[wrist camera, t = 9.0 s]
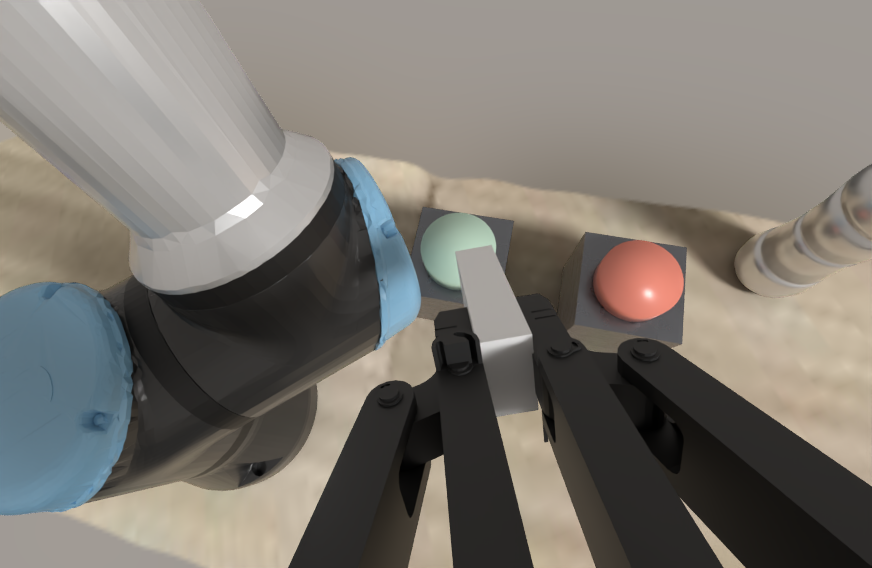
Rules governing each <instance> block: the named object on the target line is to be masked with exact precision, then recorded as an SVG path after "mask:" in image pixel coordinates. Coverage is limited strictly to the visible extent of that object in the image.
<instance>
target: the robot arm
mask: <svg viewBox="0 0 872 568" xmlns="http://www.w3.org/2000/svg"><path fill="white" fill-rule="evenodd" d="M0 122H2V123H3V124H4V125H5V126H7V127H8V128H9V129H10V130H11V131H12V132H14V133H15V134H16V135H17V136H18V137H19V138H21V139H22V140H23V141H24V142H25V143H27V144H28V145H29V146H30V147H31V148H33V149H34V150H35V151H36V152H37V153H39V154H40V155H41V156H42V157H43V158H45V159H46V160H47V161H48V162H49V163H50V164H52V165H53V166H54V167H55V168H56V169H58V170H59V171H60V172H61V173H62V174H64V175H65V176H66V177H67V178H68V179H70V180H71V181H72V182H73V183H74V184H75V185H77V186H78V187H79V188H80V189H81V190H83V191H84V192H85V193H86V194H87V195H89V196H90V197H91V198H92V199H93V200H95V201H96V202H97V203H98V204H99V205H100V206H102V207H103V208H104V209H105V210H106V211H108V212H109V213H110V214H111V215H112V216H114V217H115V218H116V219H117V220H118V221H120V222H121V223H122V224H123V225H124V226H125V227H127V228H128V229H129V231H130V247H129V267H130V269H131V272H132V273H133V275H132V276H130V277H128V278H127V279H125V280H123V281H121V282H119V283H117V284H116V285H114V286H112V287H110V288H108V289H106V290H102V291H97V290H94V289H92V288H90V287H88V286H86V285H83V284H80V283H76V282H75V283H56V282H40V283H34V284H30V285H26V286H23V287H19V288H17V289H15V290H12V291H10V292H8V293H6V294H4V295H3V296H1V297H0V515H21V514H29V513H37V512H47V511H48V512H63V511H67V510H69V509H71V508H75V507H78V506H81V505H82V504H84V503H88V502H92V501H97V500H101V499H105V498H110V497H114V496H118V495H122V494H127V493H131V492H135V491H140V490H144V489H148V488H153V487H157V486H161V485H165V484H170V483H174V482H178V481H183V482H186V483H189V484H192V485H194V486H197V487H200V488H204V489H208V490H218V491H226V490H235V489H240V488H244V487H247V486H250V485H253V484H257V483H259V482H262V481H264V480H266V479H268V478H270V477H272V476H274V475H275V474H276V473H278V472H279V471H281V470H282V469H283V468H284V467H286V466H287V465H288V464H289V463H290V462H291V461H292V460H293V459H294V457H295V456H296V455H297V454H298V452H299V451H300V450H301V448H302V447H303V445H304V443H305V442H306V440H307V438H308V436H309V434H310V431H311V429H312V426H313V423H314V419H315V415H316V409H317V386H316V383H318V382H320V381H322V380H323V379H325V378H327V377H329V376H330V375H332V374H334V373H335V372H337V371H339V370H341V369H342V368H344V367H346V366H348V365H349V364H351V363H353V362H354V361H356V360H358V359H360V358H361V357H363V356H365V355H366V354H368V353H370V352H372V351H373V350H377V349H379V348H381V347H382V346H383V344H384V343H385V341H386V340H388V339H389V338H391V337H392V336H394V335H395V334H397V333H398V332H399V331H401V330H402V329H404V328H405V327H407V326H408V325H410V324H411V323H412V322H413V321H414V320H415V318H416V317H417V315H418V313H419V310H420V306H421V293H420V287H419V282H418V279H417V275H416V272H415V269H414V266H413V263H412V260H411V257H410V255H409V252H408V249H407V247H406V245H405V242H404V240H403V238H402V235H401V234H400V232H399V231H398V229H397V228H396V227H395V222H394V219H393V217H392V214H391V212H390V209H389V207H388V205H387V203H386V201H385V199H384V197H383V195H382V193H381V191H380V189H379V188H378V186H377V184H376V182H375V181H374V179H373V178H372V176H371V174H370V173H369V172H368V170H367V169H366V168H365V167H364V165H363V164H362V163H361V162H360V161H359V160H357V159H355V158H352V157H349V158H345V159H341V158H340V159H339V160H337V159H335V160H333V158H332V156H331V154H330V153H329V151H328V149H327V148H326V147H325V145H324V144H323V143H322V142H320V141H319V140H318V139H316V138H314V137H312V136H308V135H305V134H301V133H297V132H293V131H289V130H285V129H282V128H281V127H280V126H279V124H278V123H277V121H276V120H275V118H274V116H273V115H272V113H271V112H270V110H269V109H268V107H267V106H266V104H265V102H264V101H263V99H262V98H261V96H260V94H259V93H258V91H257V90H256V88H255V87H254V85H253V84H252V82H251V80H250V79H249V77H248V76H247V74H246V72H245V71H244V69H243V68H242V66H241V64H240V63H239V61H238V60H237V58H236V57H235V55H234V54H233V52H232V50H231V49H230V47H229V46H228V44H227V42H226V41H225V40H224V38H223V36H222V35H221V33H220V31H219V30H218V28H217V27H216V25H215V24H214V22H213V20H212V19H211V17H210V16H209V14H208V13H207V11H206V10H205V8H204V6H203V5H202V3H201V2H200V0H0ZM455 254H456V260H457V266H458V272H459V279H460V285H461V291H462V297H463V303H464V308H458V309H453V310H447V311H441V312H439V313H438V315H437V316H436V318H435V320H434V325H435V336H436V339H435V340H434V341H433V343H432V347H431V348H432V352H433V357H434V362H435V366H436V372H435V374H434V375H433V376H432V377H431V378H430V379H428V380H427V381H426V382H424V383H422V384H420V385H417V386H415V387H413V388H412V387H411V385H410V384H408V383H406V382H404V381H397V380H395V381H388V382H385V383H383V384H380V385H378V386H377V387H375V388H374V389H373V390H371V392H370V393H369V394H368V396H367V397H366V400H365V402H364V404H363V406H362V408H361V410H360V413H359V415H358V417H357V419H356V421H355V424H354V426H353V428H352V430H351V432H350V434H349V437H348V439H347V441H346V443H345V445H344V448H343V450H342V452H341V454H340V456H339V458H338V461H337V463H336V465H335V467H334V469H333V471H332V474H331V476H330V478H329V480H328V482H327V485H326V487H325V489H324V491H323V493H322V495H321V498H320V500H319V502H318V504H317V506H316V508H315V511H314V513H313V515H312V517H311V519H310V522H309V524H308V526H307V528H306V530H305V532H304V535H303V537H302V539H301V541H300V543H299V546H298V548H297V550H296V552H295V554H294V556H293V559H292V561H291V563H290V565H289V567H288V568H408V564H409V560H410V555H411V551H412V547H413V542H414V538H415V533H416V529H417V525H418V520H419V516H420V512H421V507H422V503H423V498H424V494H425V490H426V485H427V481H428V477H429V472H430V468H431V460H433V459H435V458H437V457H439V456H441V455H443V454H444V464H445V476H446V487H447V499H448V511H449V522H450V534H451V546H452V557H453V568H534V567H533V563H532V559H531V555H530V551H529V547H528V543H527V539H526V535H525V531H524V527H523V523H522V519H521V515H520V511H519V507H518V502H517V498H516V494H515V490H514V486H513V482H512V478H511V474H510V470H509V466H508V462H507V458H506V454H505V450H504V446H503V442H502V438H501V434H500V430H499V426H498V422H497V418H496V417H498V416H504V415H510V414H516V413H522V412H528V411H535V410H538V401H539V403H540V406H541V408H542V419H543V432H544V442H548V438H549V441H550V444H551V446H552V449H553V452H554V455H555V457H556V460H557V463H558V465H559V468H560V471H561V474H562V476H563V479H564V482H565V484H566V487H567V490H568V493H569V495H570V498H571V501H572V503H573V506H574V509H575V512H576V514H577V517H578V520H579V522H580V525H581V528H582V531H583V533H584V536H585V539H586V542H587V544H588V547H589V550H590V552H591V555H592V558H593V561H594V563H595V566H596V568H723V566H722V565H721V563H720V561H719V560H718V558H717V557H716V555H715V553H714V552H713V550H712V549H711V547H710V545H709V544H708V542H707V541H706V539H705V537H704V536H703V534H702V533H701V531H700V529H699V528H698V526H697V525H696V523H695V521H694V520H693V518H692V517H691V515H690V513H689V512H688V510H687V509H686V507H685V505H684V504H683V502H682V501H681V499H682V500H683V501H684V502H685V503H686V504H687V506H688V507H689V508H690V509H691V510H692V511H693V512H694V513H695V514H696V515H697V516H698V517H699V518H700V519H701V520H702V521H703V523H704V524H705V525H706V526H707V527H708V528H709V529H710V530H711V531H712V532H713V533H714V534H715V535H716V536H717V537H718V539H719V540H720V541H721V542H722V543H723V544H724V545H725V546H726V547H727V548H728V549H729V550H730V551H731V552H732V553H733V554H734V556H735V557H736V558H737V559H738V560H739V561H740V562H741V563H742V564H743V565H744V566H745V567H746V568H872V486H870V485H869V484H867V483H866V482H865V481H863V480H862V479H860V478H859V477H857V476H856V475H854V474H853V473H851V472H850V471H849V470H847V469H846V468H844V467H843V466H841V465H840V464H838V463H837V462H836V461H834V460H833V459H831V458H830V457H828V456H827V455H825V454H824V453H822V452H821V451H820V450H818V449H817V448H815V447H814V446H812V445H811V444H809V443H808V442H806V441H805V440H804V439H802V438H801V437H799V436H798V435H796V434H795V433H793V432H792V431H790V430H789V429H788V428H786V427H785V426H783V425H782V424H780V423H779V422H777V421H776V420H774V419H773V418H772V417H770V416H769V415H767V414H766V413H764V412H763V411H761V410H760V409H758V408H757V407H756V406H754V405H753V404H751V403H750V402H748V401H747V400H745V399H744V398H742V397H741V396H740V395H738V394H737V393H735V392H734V391H732V390H731V389H729V388H728V387H726V386H725V385H724V384H722V383H721V382H719V381H718V380H716V379H715V378H713V377H712V376H710V375H709V374H708V373H706V372H705V371H703V370H702V369H700V368H699V367H697V366H696V365H694V364H693V363H692V362H690V361H689V360H687V359H686V358H684V357H683V356H681V355H680V354H678V353H677V352H676V351H674V350H673V349H671V348H670V347H668V346H667V345H665V344H663V343H661V342H659V341H657V340H652V339H648V338H634V339H629V340H626V341H624V342H623V343H621V344H620V346H619V347H618V349H617V353H604V352H594V351H590V350H587V349H586V347H585V346H584V345H583V344H582V343H581V342H580V341H579V340H577V339H574V338H572V337H570V335H569V333H568V332H567V330H566V328H565V327H564V325H563V323H562V322H561V320H560V318H559V317H558V316H557V313H556V312H555V310H554V309H553V307H552V305H551V303H550V302H549V300H548V299H546V298H545V297H543V296H541V295H540V294H533V295H527V296H521V297H515V296H514V293H513V291H512V289H511V287H510V285H509V282H508V280H507V278H506V276H505V274H504V271H503V269H502V267H501V265H500V263H499V261H498V258H497V256H496V254H495V252H494V250H493V247H492V245H488V246H483V247H477V248H471V249H466V250H460V251H455ZM537 398H538V399H537ZM680 498H681V499H680Z"/></svg>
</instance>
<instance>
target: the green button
mask: <svg viewBox="0 0 872 568" xmlns="http://www.w3.org/2000/svg"><path fill="white" fill-rule="evenodd" d="M488 245H492V247H493V250H494V252H495V254H496V241H495V237H494V234H493V232H492V230H491V229H490V227H489V226H488V225H487V224H486V223H485V222H484V221H483V220H481V219H480V218H478V217H476V216H474V215H471V214H467V213H451V214H447V215H444V216H442V217H440V218H438V219H437V220H435V221H434V222H433V223H432V224H431V225H430V226H429V227H428V228H427V230H426V231H425V233H424V235H423V237H422V241H421V256H422V260H423V263H424V266H425V269H426V271H427V273H428V274H429V276H430V277H431V278H432V279H433V280H434V281H435V282H436V283H437V284H439V285H440V286H442V287H445V288H447V289H451V290H461V285H460V279H459V272H458V266H457V260H456V254H455V251H460V250H466V249H471V248H477V247H483V246H488Z"/></svg>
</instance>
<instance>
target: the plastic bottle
mask: <svg viewBox="0 0 872 568" xmlns="http://www.w3.org/2000/svg"><path fill="white" fill-rule="evenodd" d="M871 259H872V164H871V165H869V166H867V167H866V168H864V169H862V170H861V171H860V172H858V173H857V174H855V175H854V176H852V177H851V178H850V179H849V180H848V181H847V182H846V183H844V184H843V185H842V186H841V187H840V188H838V189H837V190H836V191H835V192H834V193H833V194H831V195H830V196H829V197H828V198H827V199H825V200H824V201H823V202H821V203H820V204H818V205H817V206H815V207H814V208H812V209H811V210H809V211H808V212H806V213H805V214H803V215H802V216H800V217H798V218H796V219H794V220H792V221H789V222H787V223H785V224H783V225H781V226H779V227H775V228H772V229H769V230H767V231H764V232H762V233H760V234H757V235H755V236H753V237H752V238H750V239H749V240H748V241H747V242H746V243H745V244H744V245H743V246H742V247H741V248H740V249H739V251H738V252H737V254H736V257H735V270H736V274H737V276H738V278H739V280H740V281H741V283H742V284H743V285H744V286H745V287H747V288H748V289H749V290H751V291H753V292H755V293H757V294H759V295H762V296H765V297H770V298H781V297H788V296H793V295H798V294H800V293H803V292H805V291H807V290H808V289H810V288H812V287H814V286H815V285H817V284H818V283H820V282H821V281H822V280H824V279H825V278H827V277H829V276H831V275H833V274H835V273H837V272H839V271H841V270H843V269H845V268H847V267H850V266H853V265H856V264H858V263H862V262H865V261H868V260H871Z"/></svg>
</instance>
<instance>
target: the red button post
mask: <svg viewBox="0 0 872 568" xmlns="http://www.w3.org/2000/svg"><path fill="white" fill-rule="evenodd" d="M633 240H634V239H628V238H621V237H615V236H608V235H602V234H596V233H589V232H585V234H584V235H583V237H582V239H581V240H580V242H579V243H578V245H577V247H576V248H575V250H574V252H573V253H572V255H571V256H570V258H569V260H568V261H567V263H566V264H565V266H564V268H563V275H562V282H561V290H560V297H559V305H558V312H557V316H558V317H559V318H560V320H561V322H562V323H563V325H564V327H565V328H566V330H567V332H568V333H569V335H570V337H572V338H574V339H577V340H579V341H580V342H581V343H582V344H583V345H584V346H585V347H586V349H587V350H592V351H597V352H604V353H617V349H618V347H619V346H620V344H621V343H623V342H624V341H626V340H629V339H634V338H648V339H652V340H657V341H659V342H661V343H663V344H665V345H667V346H668V347H670V348H672V347H675V346H678V345H681V344H682V336H683V315H684V294H685V273H686V253H687V248H686V247H680V246H673V245H667V244H660V243H655V244H657V245H659V246H661V247H662V248H664V249H666V250H667V251H668V252H669V253H670V254H671V255H672V256H673V257H674V258H675V259H676V261H677V262H678V264H679V266H680V268H681V270H682V273H683V279H684V286H683V291H682V295H681V297H680V299H679V300H678V302H677V303H676V304H675V305H674V306H673V307H672V308H671V309H670V310H668V311H666V312H665V313H663V314H661V315H659V316H657V317H655V318H653V319H651V320H648V321H643V322H629V321H625V320H622V319H619V318H617V317H615V316H613V315H612V314H610V313H609V312H608V311H607V310H605V309H604V307H600V306H601V304H600V302H599V301H598V299H597V297H596V295H595V292H594V288H593V277H594V273H595V270H596V268H597V266H598V265H599V263H600V262H601V261H602V259H603V258H604V257H605V256H606V255H607V253H608V252H609V251H610V250H611V249H613V248H614V247H615V246H617V245H619V244H621V243H624V242H627V241H633ZM652 243H654V242H652Z"/></svg>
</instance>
